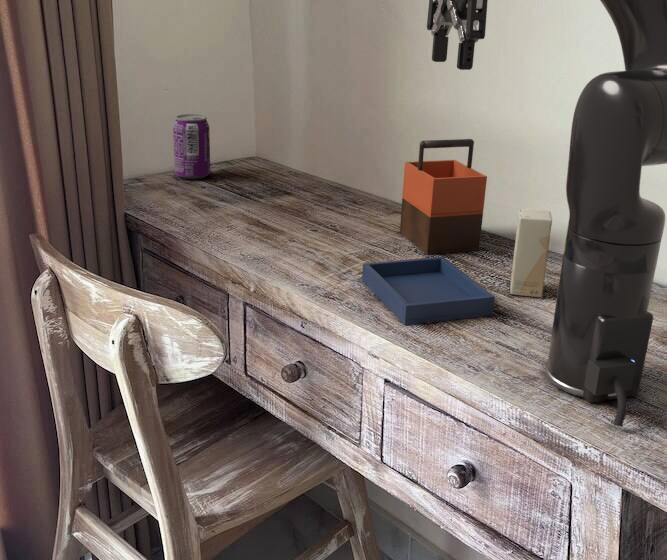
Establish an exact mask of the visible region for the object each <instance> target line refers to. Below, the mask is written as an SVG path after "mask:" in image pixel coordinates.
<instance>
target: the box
mask: <svg viewBox="0 0 667 560" xmlns="http://www.w3.org/2000/svg"><path fill="white" fill-rule="evenodd" d="M552 225H553V217H552V212H551V211H548V210H541V209H533V208H531V209H530V208H520V209H519V208H518V217H517V225H516V233H515V241H514V242H515V243H514V249H513V258H512V267H511V274H510V283H509V286H510V287H509V288H510V290H509V291H510V295H514V296H523V297H533V298H535V297H536V298H542V297H543V291H544V283H545V276H546V269H547V261H548V254H549V248H550V247H549V246H550V238H551V232H552Z"/></svg>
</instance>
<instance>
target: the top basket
mask: <svg viewBox="0 0 667 560" xmlns="http://www.w3.org/2000/svg"><path fill="white" fill-rule="evenodd" d="M474 146H475V141H474V139H473V138H463V139H462V138H461V139H460V138H459V139H458V138H457V139H455V138H454V139H431V140H421V141H420V142H419V150H418V161H405V162H404V167H403V168H404V170H403V182H402V183H403V184H402V195H401V197H402V198H403V199H405V200H406V201H408V202H409V203H411V204H412V205H413V206H415V207H416V208H418V209H419V210H421V211H422V212H424V213H425V214H426V215H428V216H429V217H444V216H459V215H474V214H483V215H484V209H485V199H486V189H487V181H488V175H486V174H484V173H482V172H479V171H478V170H476V169H474V168H472V166H473V165H472V164H473V156H474ZM445 148H447V149H449V148H468V154H467V163H466V164H464V163H462V162H460V161H458V160H457V159H442V160H441V159H439V160H438V159H437V160H424V156H425V155H424V152H425V149H445ZM402 198H401V199H402Z"/></svg>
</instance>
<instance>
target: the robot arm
mask: <svg viewBox="0 0 667 560" xmlns="http://www.w3.org/2000/svg"><path fill="white" fill-rule="evenodd" d="M599 1H600V2H601V4H602V6H603V7H604V9H605V10H606V12H607V14H608V16H609V17H610V19H611V21H612V23H613V25H614V27H615V30H616V32H617V35H618V40H619V42H620V47H621V52H622V58H623V64H624V65H623V66H624V70H615V71H607V72H604V73H600V74H598V75H596V76H594V77H593V78H591V79H590V80H589V81H588V82H587V83H586V84H585V86H584V87H583V89H582V90H581V92H580V94H579V96H578V99H577V101H576V104H575V108H574V111H573V115H572V116H573V117H572V120H571V121H572V122H571V128H570V139H569V151H568V152H569V153H568V162H567V172H566V173H567V174H566V185H565V194H566V195H565V196H566V201H567V206H568V211H569V212H568V213H569V214H568V223H567V228H566V236H565V241H564V248H563V255H562V260H561V261H562V263H561V269H560V275H559V281H558V288H557V295H556V301H555V309H554V316H553V322H552V327H551V328H552V329H551V334H550V341H549V342H550V343H549V350H548V358H547V361H546V364H545V368H544V369H545V370H544V374H545V377H546V378H547V380H548V381H549V382H550V383H551V384H552V386H554V387H556V388H557V389H559V390H561V391H563V392H565V393H568V394H570V395H572V396H573V395H574V396H576V397H579V398H582V399H584V400H585V401H587V402H588V403H599V402H604V401H611V400H617V410H616V414H615V418H614V422H613V425H614V426H617V427H623V424H624V421H625V418H626V414H627V398H630V397H631V398H632V397H636V396H639V392H640V387H641V381H642V377H643V373H644V366H645V361H646V356H647V351H648V347H649V342H650V336H651V331H652V326H653V323H654V314H653V313H652V312H650V311H649V310H648V309H649V306H650V300H651V294H652V289H653V284H654V278H655V273H656V269H657V264H658V258H659V255H660V250H661V245H662V244H661V243H662V239H663V234H664V230H665V224H666V214H665V211H664V209H663V208H662V207H661V206H660V205H659V204H657V203H655V202H654V201H652V200H649V199H646V198H644V197H641V194H640V188H641V178H642V168H643V167H649V166H658V165H667V0H599ZM427 9H428V10H427V19H426V29H427V31H430V32H431V36H432V37H433V39H432V50H431V51H432V52H431V60H432V61H433V62H435V63H445V62H446V61H447V60H448V49H449V48H448V47H449V34H450V32H451V30H452V28H454V30H456V31H457V34H458V40H459V42H458V46H457V47H458V49H457V58H456V59H457V60H456V68H457V69H458V70H460V71H467V70H468V71H470V70H472V68H473V66H474V56H475V47H476V46H475V45H476V43H478V42H479V40H484V39H485V37H486V28H487V13H488V0H428V8H427ZM477 26H478V27H477Z"/></svg>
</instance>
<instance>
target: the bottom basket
mask: <svg viewBox="0 0 667 560" xmlns="http://www.w3.org/2000/svg"><path fill="white" fill-rule="evenodd" d="M483 219H484V213H483V214H474V215H459V216H444V217H429V216H428V215H426V214H425V213H424V212H422V211H421V210H419V209H418V208H416V207H415V206H413V205H412V204H411V203H409V202H408V201H406V200H405V199H403V198H401V213H400V223H399V224H400V226H399V233H400V234H401V235H402V236H403V237H404V238H407V240H409V241H410V242H411V243H412V244H413V245H414V246H416V247H417V248H418V249H420V251H422V252H423V253H425V254H426V255H438V254H449V253H463V252H474V251H475V252H476V251H480V247H481V246H480V245H481V237H482V226H483Z"/></svg>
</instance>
